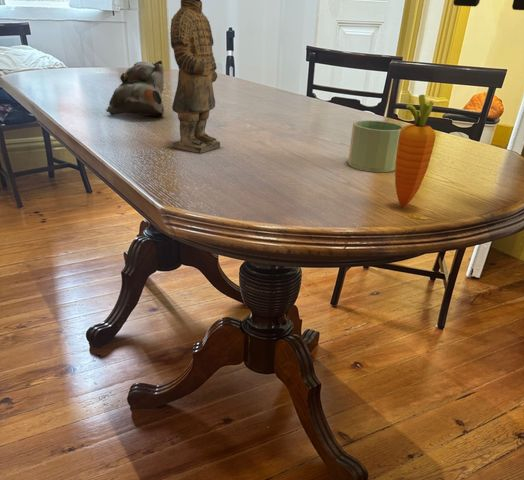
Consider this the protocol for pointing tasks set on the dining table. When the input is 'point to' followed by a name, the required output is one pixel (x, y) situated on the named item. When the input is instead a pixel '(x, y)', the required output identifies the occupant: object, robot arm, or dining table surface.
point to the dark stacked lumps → (139, 91)
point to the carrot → (413, 152)
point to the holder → (374, 145)
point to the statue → (193, 76)
